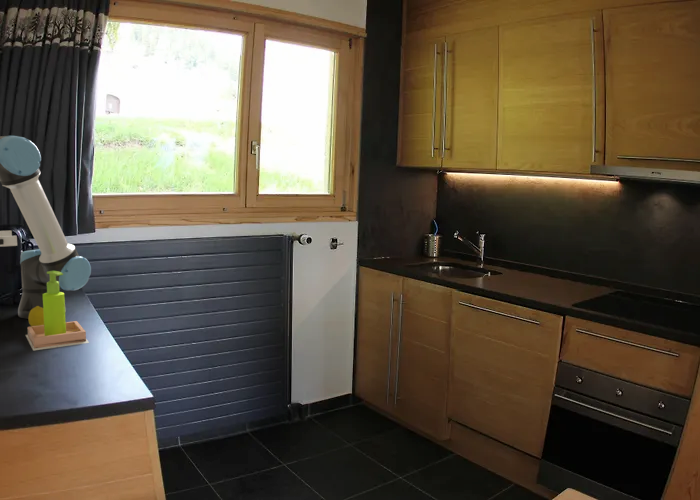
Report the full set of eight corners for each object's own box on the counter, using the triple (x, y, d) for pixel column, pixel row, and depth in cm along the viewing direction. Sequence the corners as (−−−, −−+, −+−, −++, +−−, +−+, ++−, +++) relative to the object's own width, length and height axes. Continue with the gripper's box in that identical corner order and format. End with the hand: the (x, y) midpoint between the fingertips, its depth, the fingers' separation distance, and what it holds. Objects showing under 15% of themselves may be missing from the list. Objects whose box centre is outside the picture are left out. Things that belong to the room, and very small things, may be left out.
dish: (28, 336, 191) (27, 326, 190) (77, 330, 199) (76, 320, 198) (34, 348, 179) (33, 338, 179) (86, 341, 187) (85, 331, 187)
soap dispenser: (54, 340, 184) (51, 274, 181) (40, 336, 188) (37, 271, 185) (72, 336, 189) (69, 271, 186) (58, 332, 193) (55, 268, 190)
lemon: (40, 333, 197) (39, 308, 195) (25, 332, 198) (23, 307, 196) (52, 328, 202) (50, 304, 201) (37, 327, 203) (35, 303, 202)
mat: (25, 336, 192) (25, 335, 192) (77, 330, 201) (77, 328, 201) (33, 352, 178) (33, 350, 178) (89, 344, 186) (89, 342, 186)
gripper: (-74, 249, 178) (10, 245, 190) (-75, 262, 158) (20, 256, 169) (-76, 223, 177) (8, 220, 189) (-77, 233, 157) (18, 229, 168)
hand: (14, 237), depth 179 cm, fingers open, 13 cm apart
